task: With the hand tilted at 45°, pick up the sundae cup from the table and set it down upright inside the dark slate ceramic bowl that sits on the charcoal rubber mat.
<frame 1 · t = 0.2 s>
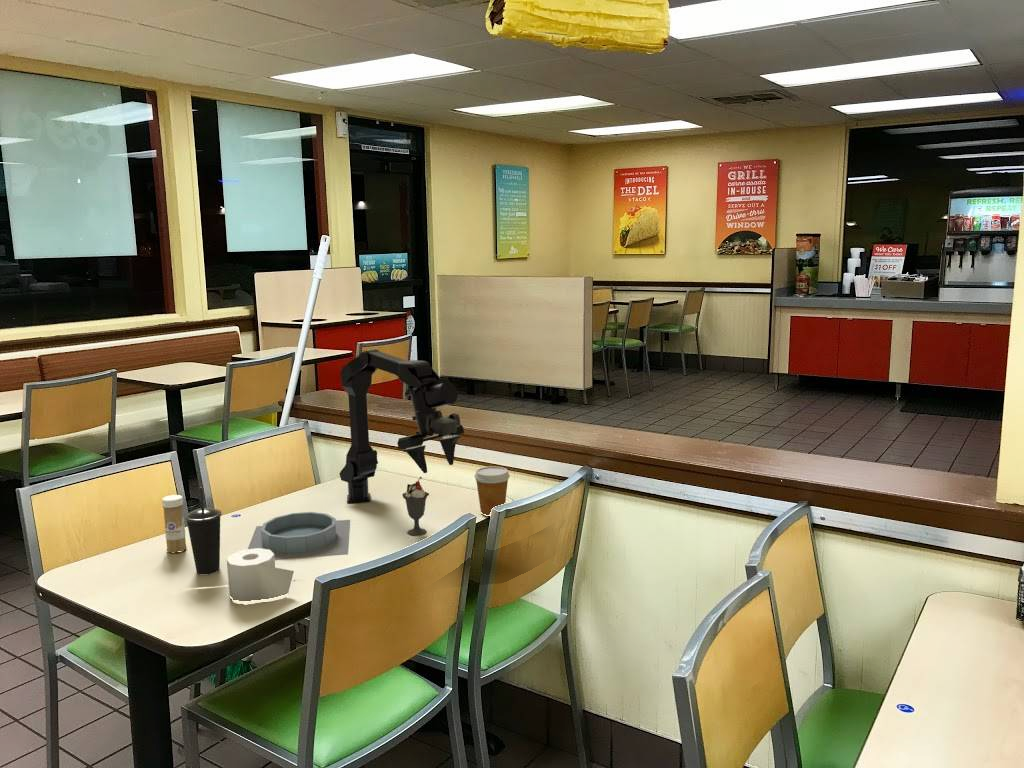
hand: (438, 468, 205), 15 cm above the table, tool tilted 15°, fingers open, 9 cm apart
bowl: (300, 539, 198), resting on mat
toilet tissue: (259, 596, 168), on the table
drinking cup: (208, 572, 181), on the table
mat: (300, 541, 198), on the table
sundae: (417, 533, 203), on the table
sprinkles bottle: (177, 551, 194), on the table
disposable coffee cup: (492, 514, 217), on the table
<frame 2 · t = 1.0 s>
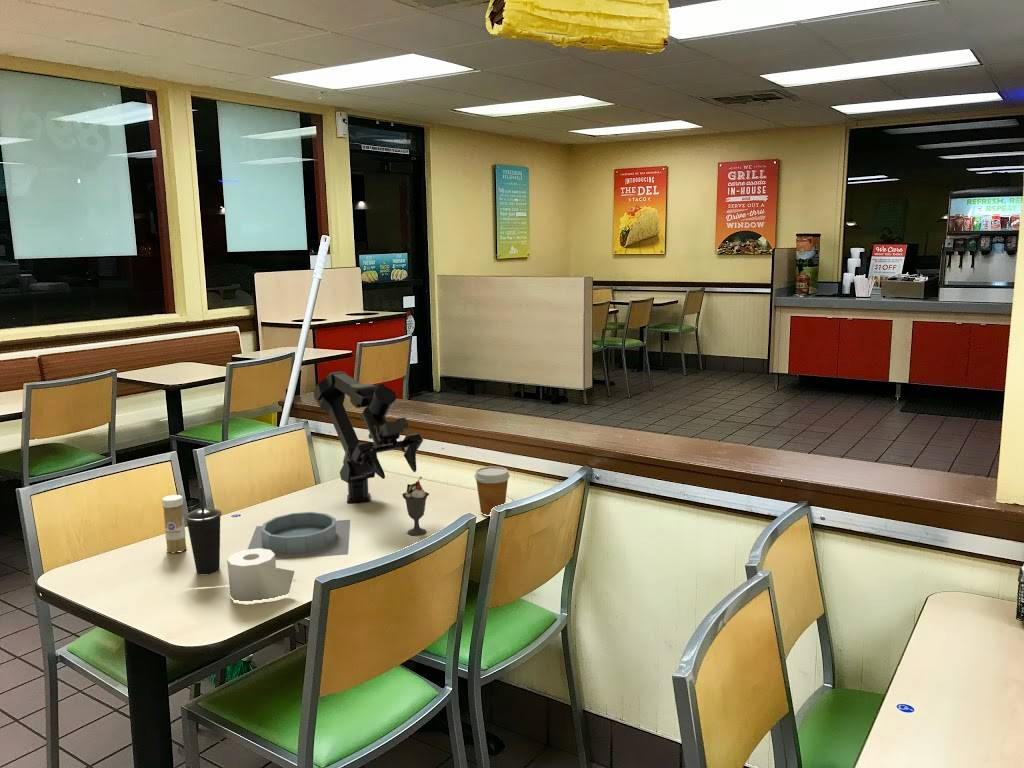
hand: (399, 474, 207), 13 cm above the table, tool tilted 45°, fingers open, 9 cm apart
nothing on the table moved.
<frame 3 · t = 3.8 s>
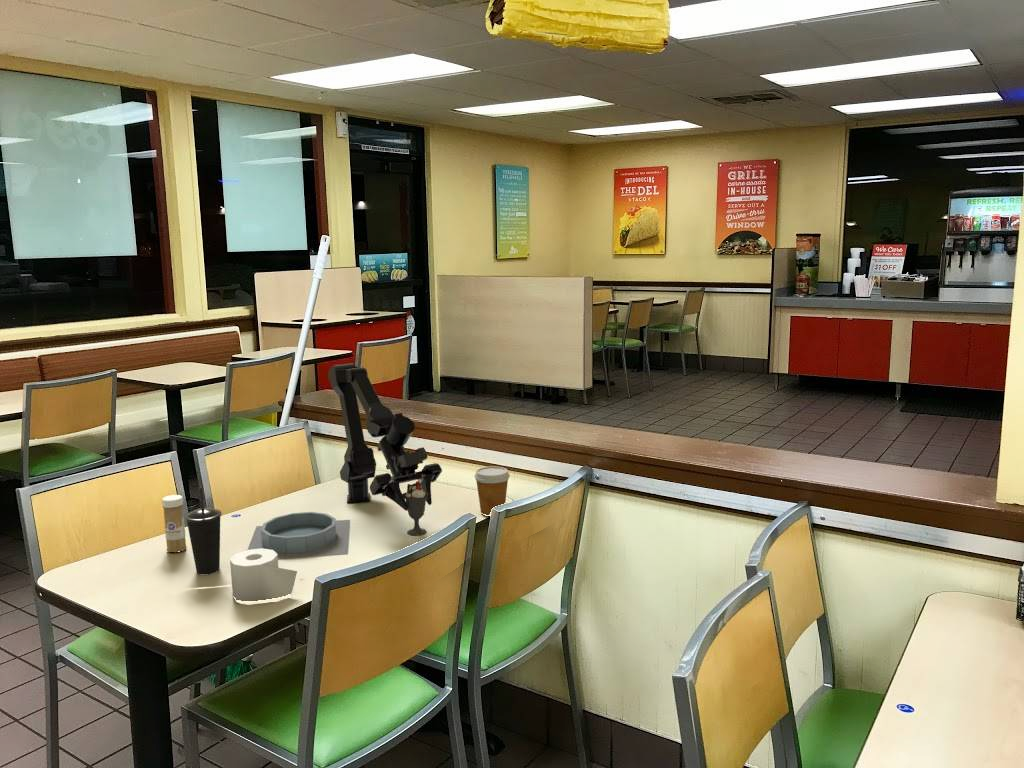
hand: (418, 507, 201), 7 cm above the table, tool tilted 45°, fingers closed on sundae, 6 cm apart
sundae: (417, 533, 203), on the table, touching gripper
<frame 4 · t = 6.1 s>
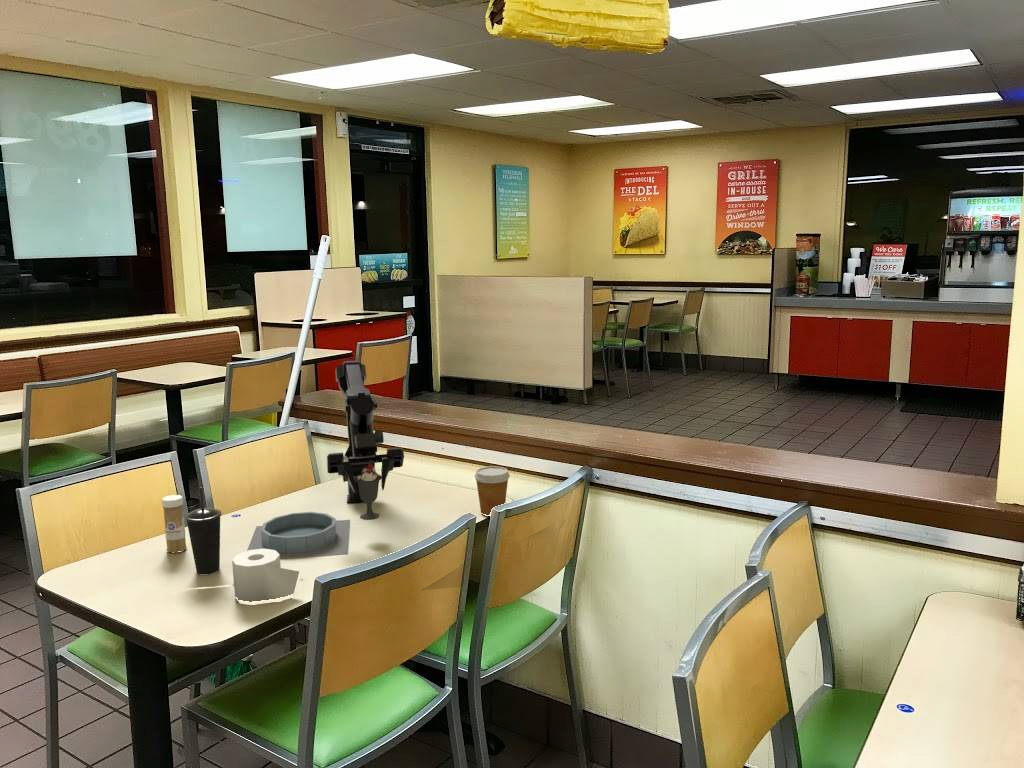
hand: (369, 490, 195), 13 cm above the table, tool tilted 45°, fingers closed on sundae, 6 cm apart
sundae: (370, 517, 197), point 6 cm above the table, touching gripper
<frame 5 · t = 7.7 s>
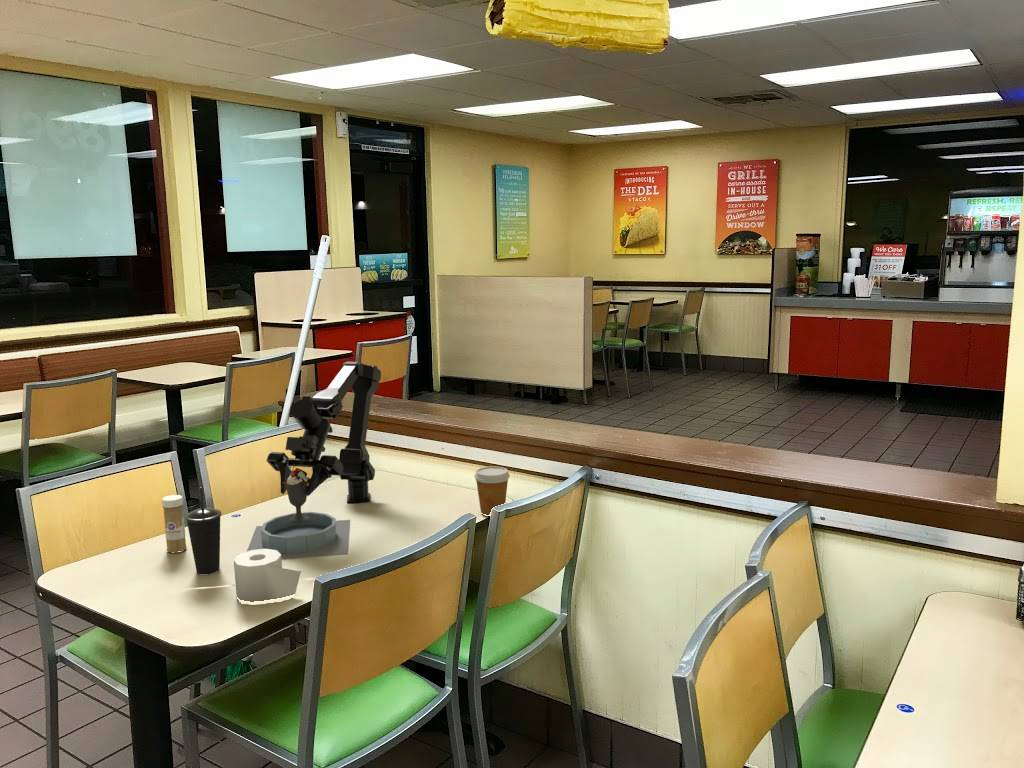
hand: (294, 494, 195), 13 cm above the table, tool tilted 45°, fingers closed on sundae, 6 cm apart
sundae: (299, 520, 198), point 5 cm above the table, touching gripper
when the fingers open (9 cm above the table, at t = 8.8 s): sundae drops 1 cm, resting on bowl.
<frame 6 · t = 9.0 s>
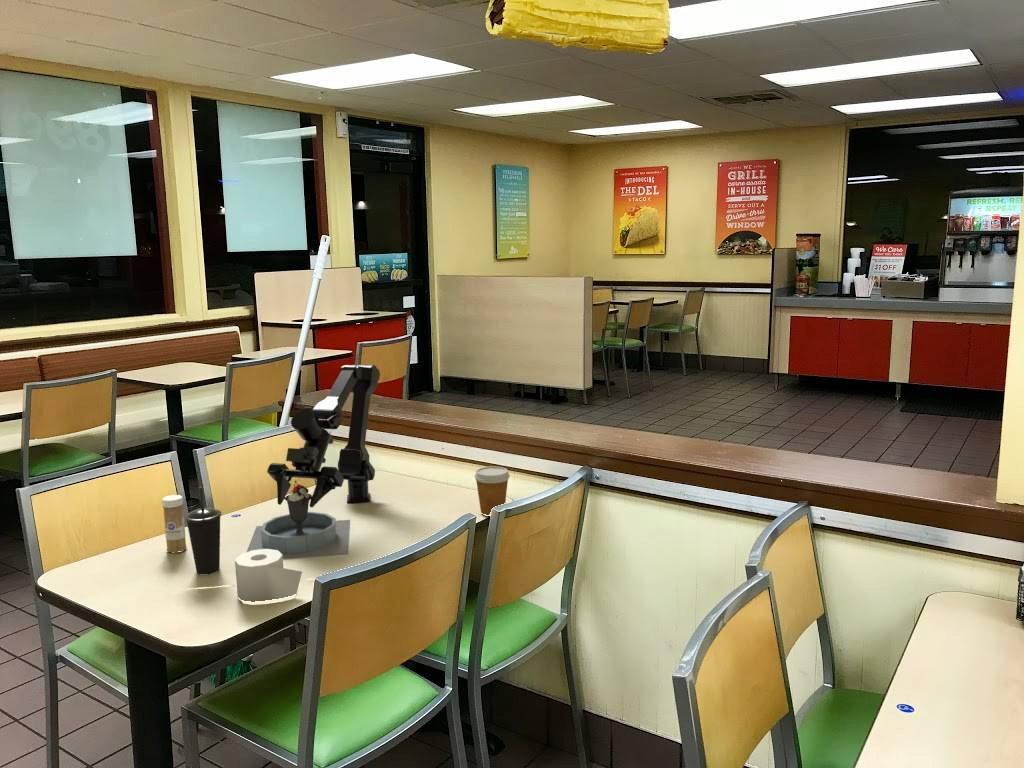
hand: (294, 505, 195), 10 cm above the table, tool tilted 45°, fingers open, 8 cm apart
sundae: (299, 536, 198), point 1 cm above the table, touching bowl
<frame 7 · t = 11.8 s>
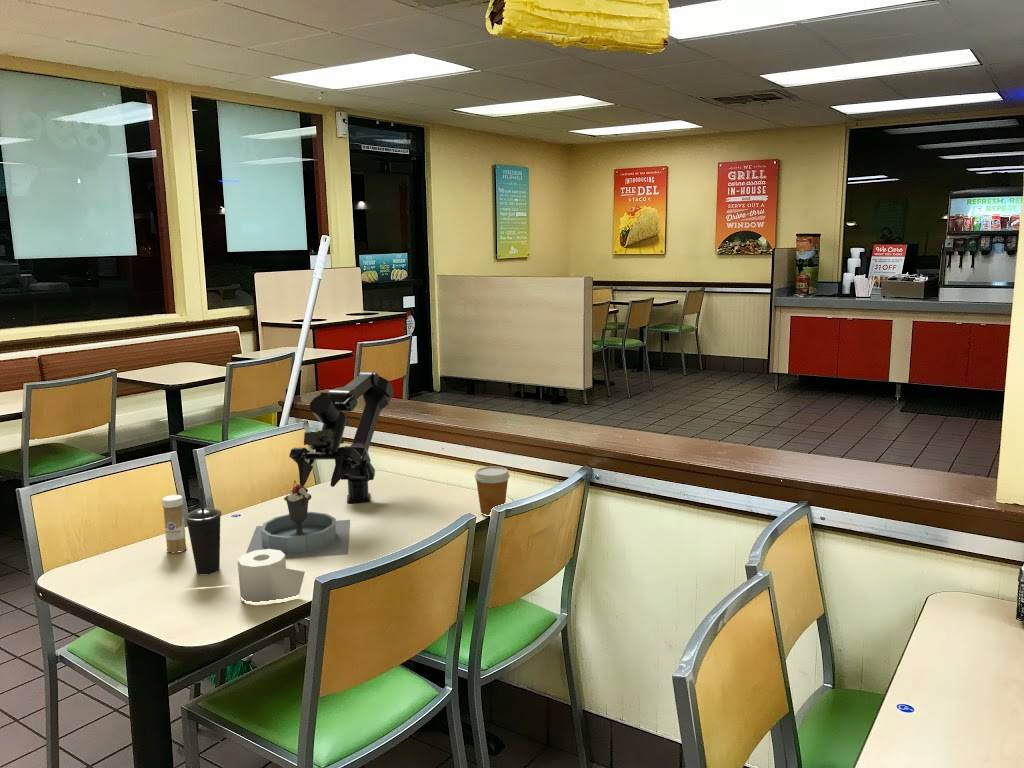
hand: (316, 486, 205), 11 cm above the table, tool tilted 40°, fingers open, 9 cm apart
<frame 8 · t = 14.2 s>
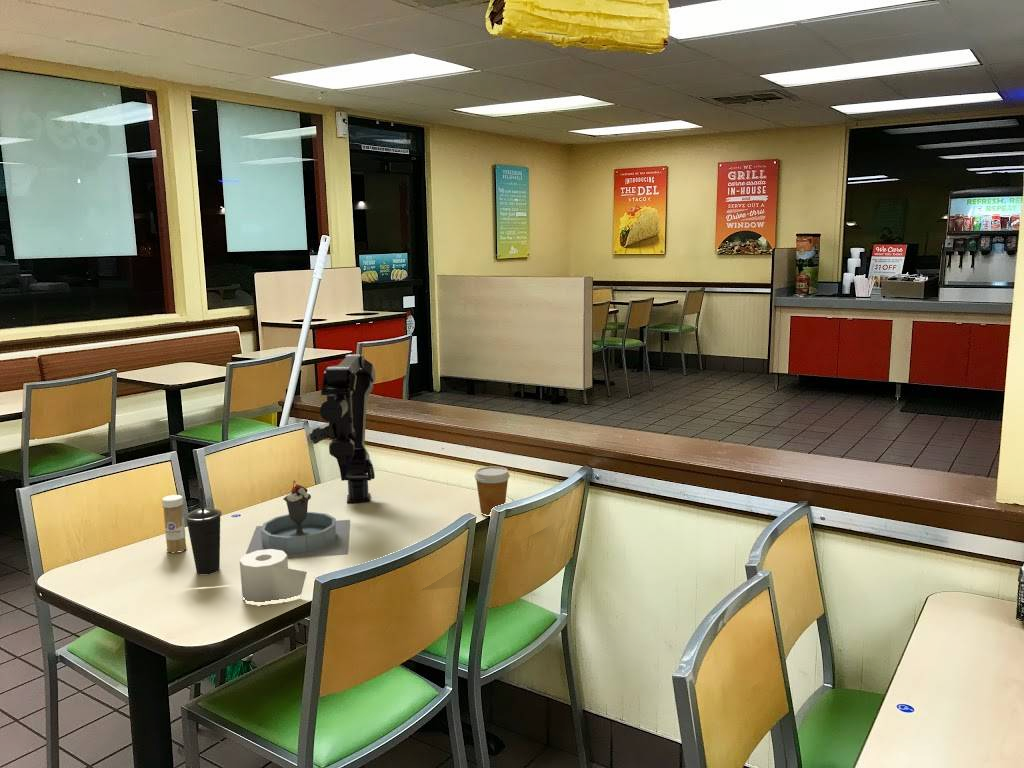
hand: (344, 471, 212), 13 cm above the table, tool pointing down, fingers open, 9 cm apart
at the end: sundae inside the target area on the bowl (0.2 cm from its centre), point 0.6 cm above the bowl's base; sundae tilted 0°; the gripper is holding nothing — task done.
